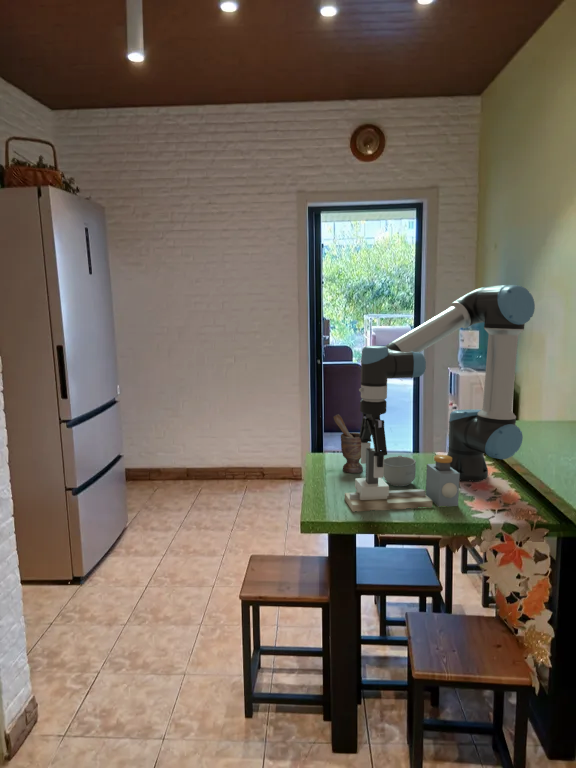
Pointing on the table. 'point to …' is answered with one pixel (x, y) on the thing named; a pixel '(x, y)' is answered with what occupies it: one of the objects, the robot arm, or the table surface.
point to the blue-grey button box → (442, 486)
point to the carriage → (371, 481)
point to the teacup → (399, 470)
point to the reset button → (443, 462)
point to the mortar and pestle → (350, 447)
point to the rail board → (390, 500)
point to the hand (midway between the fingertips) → (371, 470)
